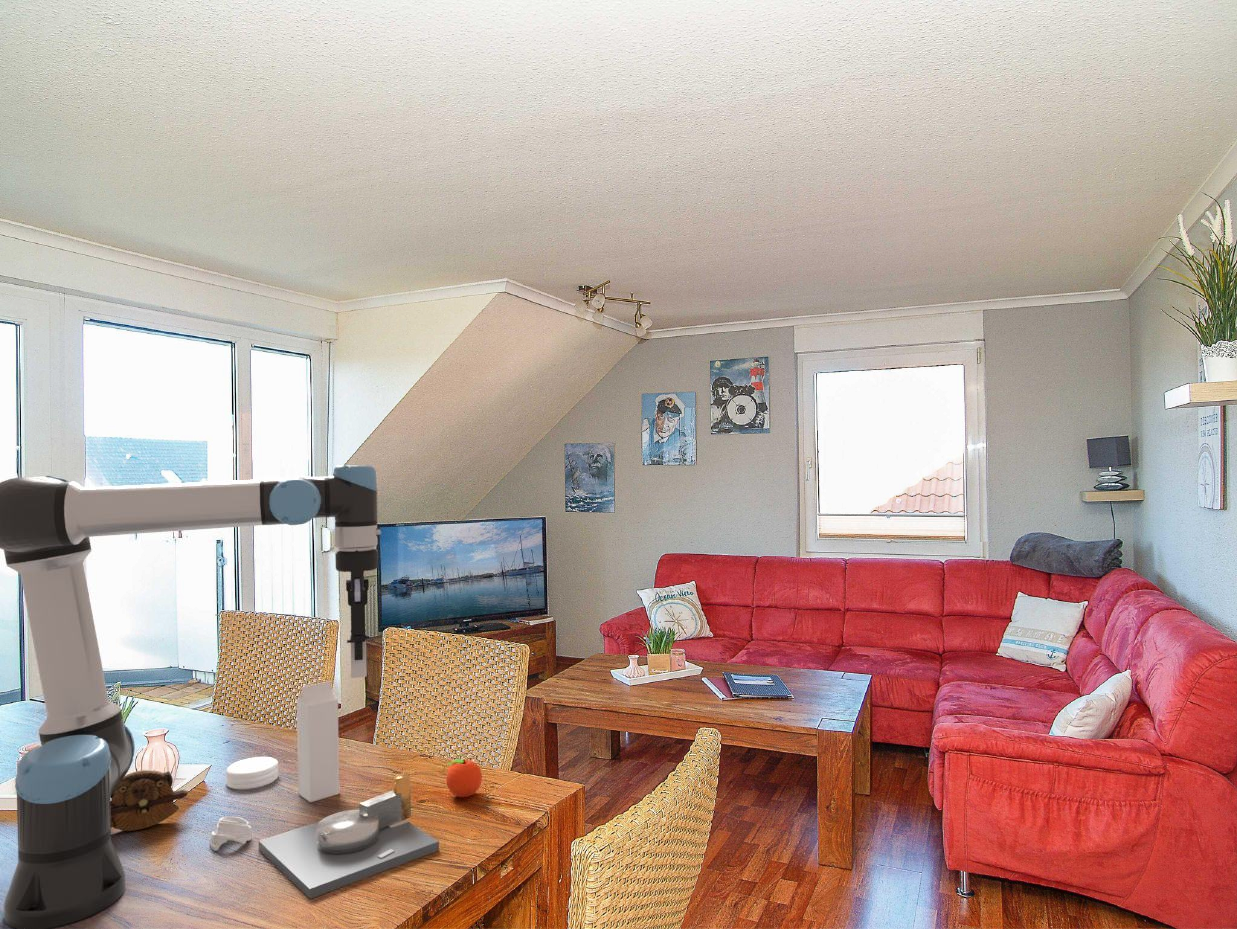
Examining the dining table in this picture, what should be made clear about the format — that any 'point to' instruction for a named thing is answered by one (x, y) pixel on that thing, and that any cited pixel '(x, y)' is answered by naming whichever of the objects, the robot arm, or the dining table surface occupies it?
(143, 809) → the wooden carving
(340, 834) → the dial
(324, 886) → the plate
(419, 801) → the dining table surface
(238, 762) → the round white tin
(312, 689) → the milk
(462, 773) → the clementine
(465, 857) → the dining table surface
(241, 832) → the whipped cream
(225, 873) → the dining table surface
